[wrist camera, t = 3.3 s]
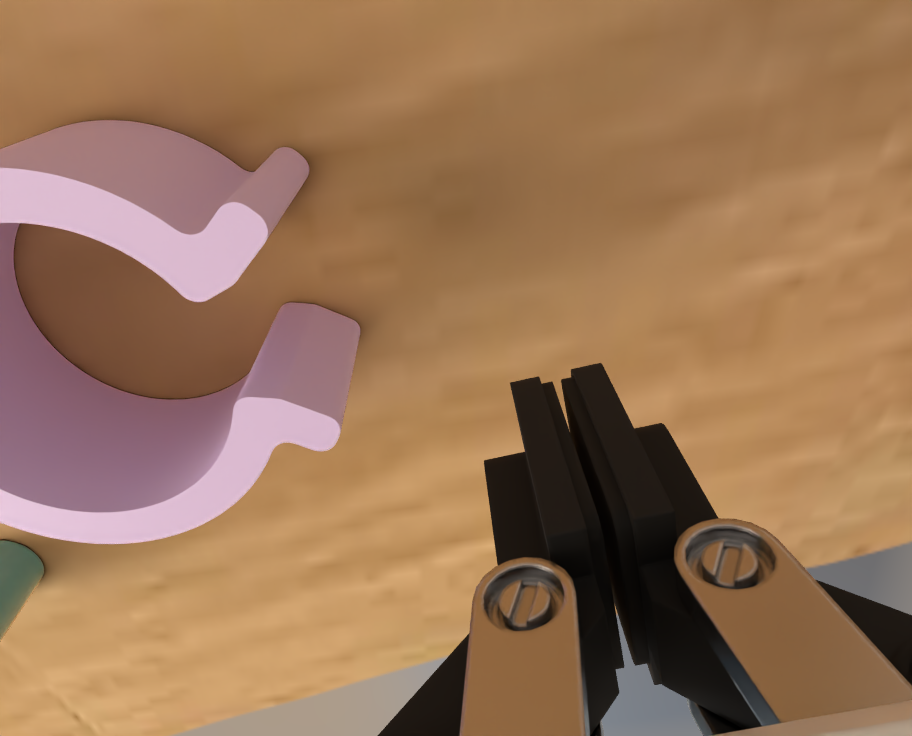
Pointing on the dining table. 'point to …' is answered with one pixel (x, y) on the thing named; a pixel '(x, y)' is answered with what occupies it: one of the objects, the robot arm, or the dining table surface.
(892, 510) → the dining table surface
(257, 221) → the clip
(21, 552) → the green cylinder
